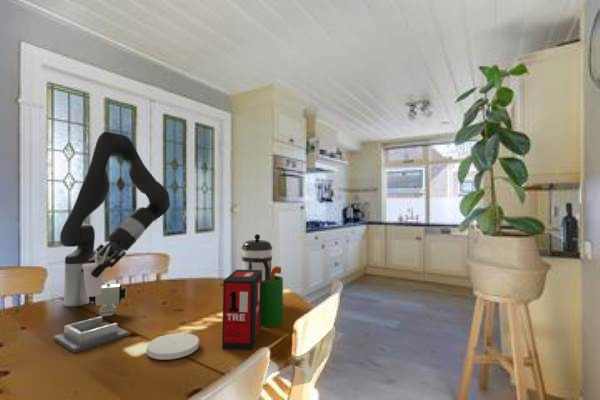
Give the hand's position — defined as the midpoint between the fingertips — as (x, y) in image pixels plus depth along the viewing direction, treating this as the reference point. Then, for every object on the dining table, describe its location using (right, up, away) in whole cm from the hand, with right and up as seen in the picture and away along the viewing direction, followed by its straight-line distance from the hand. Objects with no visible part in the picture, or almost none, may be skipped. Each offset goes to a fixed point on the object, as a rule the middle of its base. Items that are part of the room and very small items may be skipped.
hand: (88, 274), depth 100 cm
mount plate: (+1, -20, +1) cm, 20 cm away
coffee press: (+48, -21, +33) cm, 63 cm away
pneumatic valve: (-7, -20, +22) cm, 31 cm away
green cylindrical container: (+55, -21, +17) cm, 61 cm away
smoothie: (+1, -7, +1) cm, 7 cm away
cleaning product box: (+48, -21, +2) cm, 52 cm away
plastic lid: (+29, -21, -7) cm, 37 cm away
